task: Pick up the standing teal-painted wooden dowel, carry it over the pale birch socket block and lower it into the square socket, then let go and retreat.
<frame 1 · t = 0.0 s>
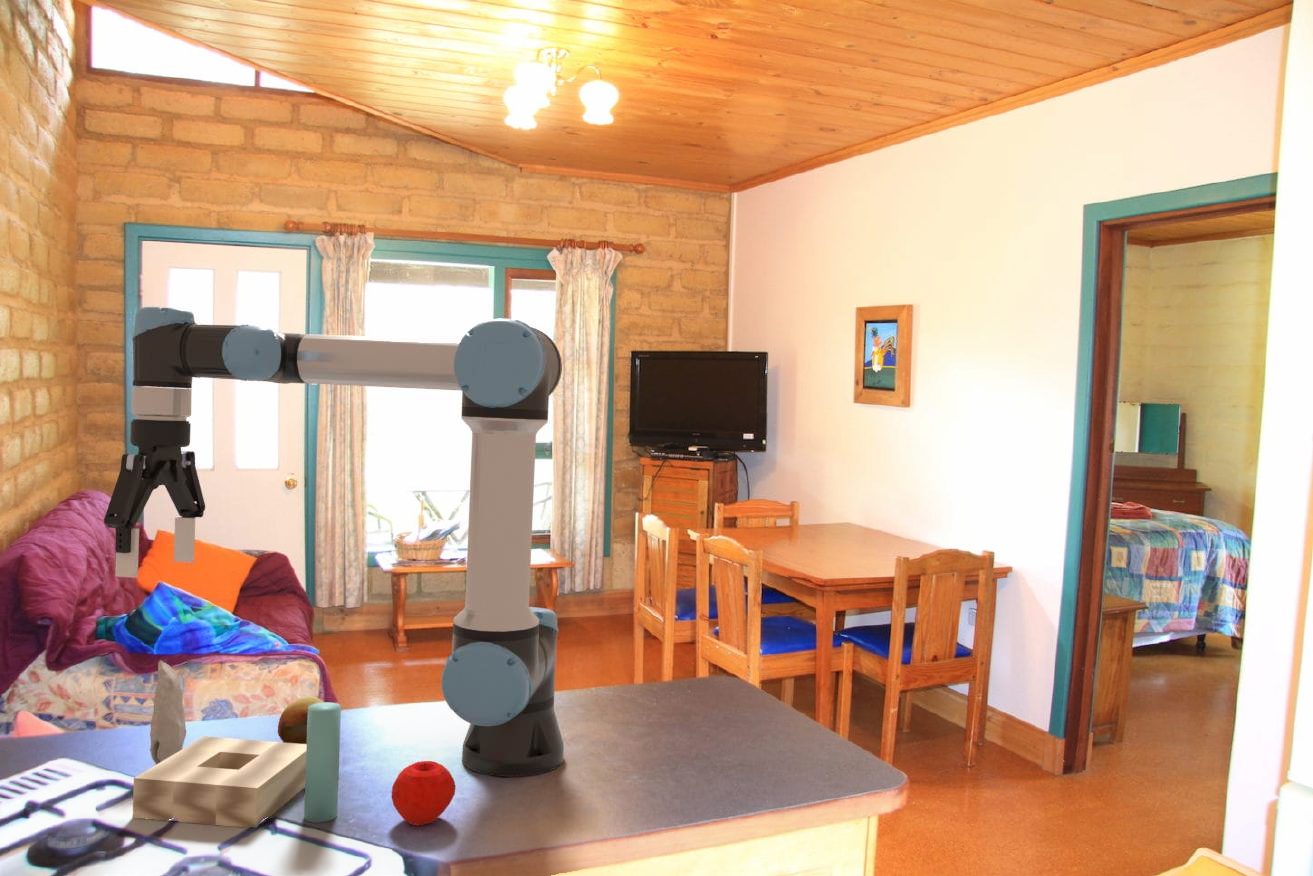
hand: (156, 569, 139), 28 cm above the kitchen counter, fingers open, 13 cm apart
socket block: (227, 798, 130), on the kitchen counter
peg: (320, 816, 126), on the kitchen counter
fruit: (306, 752, 149), on the kitchen counter
apple: (422, 822, 126), on the kitchen counter
stone tool: (166, 767, 140), on the kitchen counter
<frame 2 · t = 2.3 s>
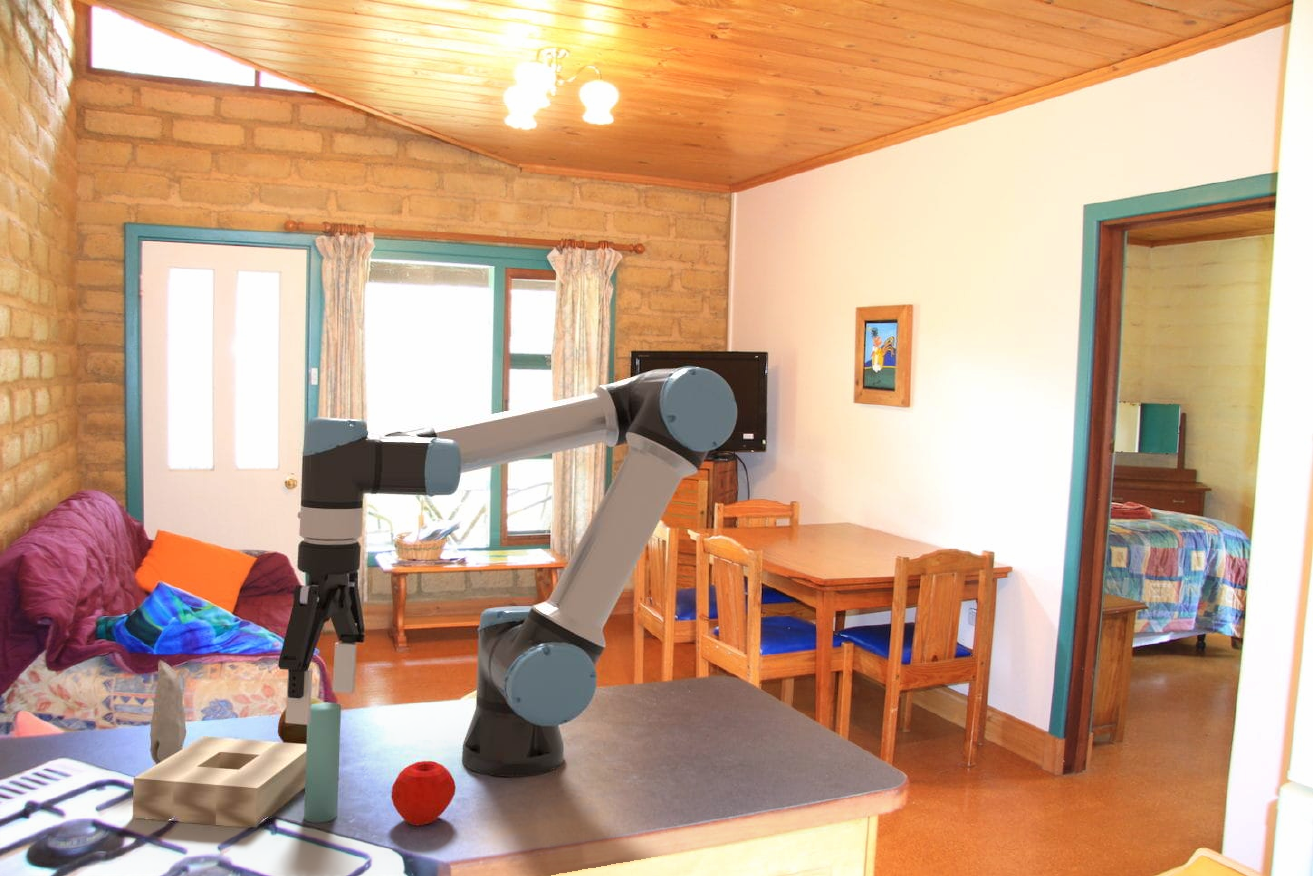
hand: (321, 707, 125), 14 cm above the kitchen counter, fingers open, 13 cm apart
nothing on the kitchen counter moved.
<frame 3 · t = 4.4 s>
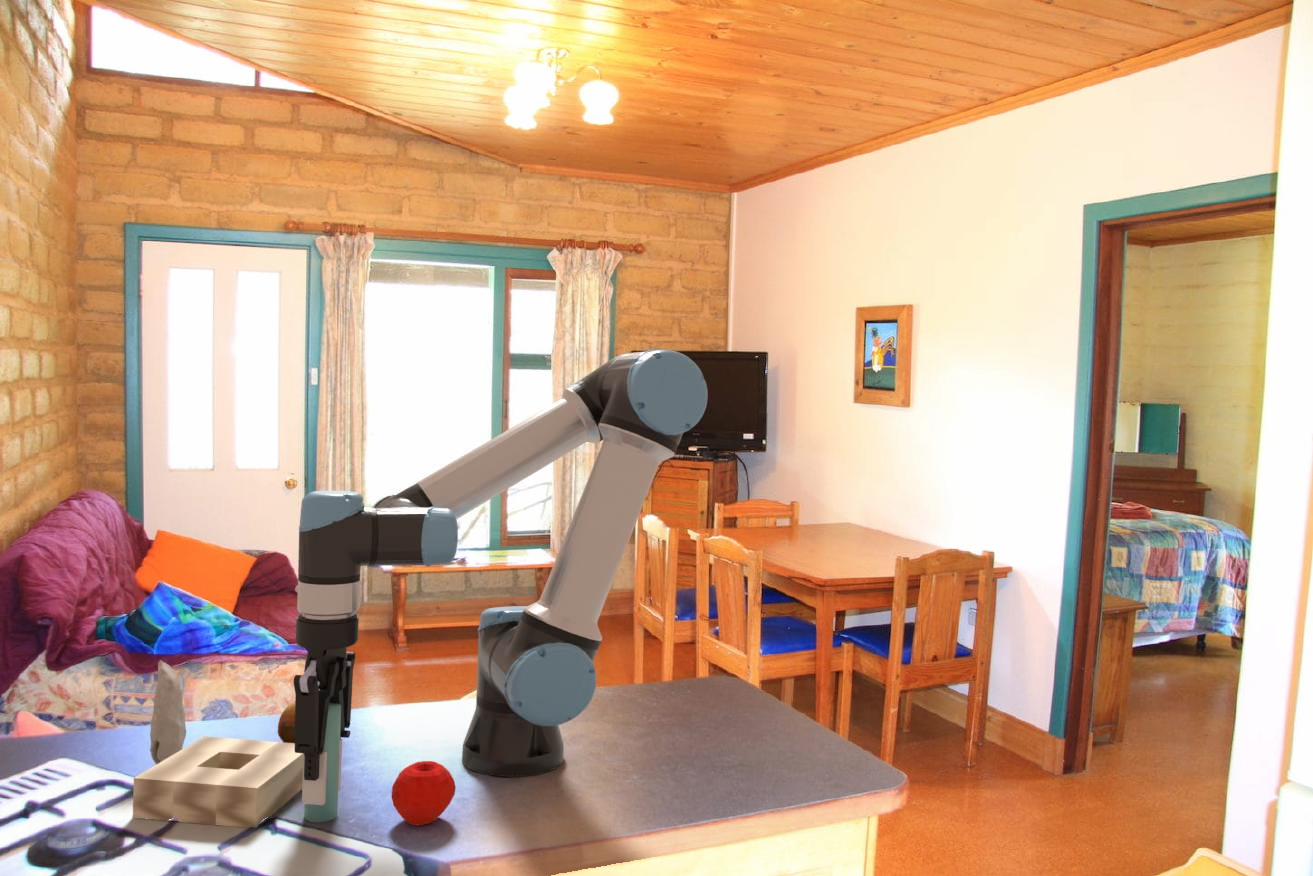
hand: (321, 795, 126), 3 cm above the kitchen counter, fingers closed on peg, 4 cm apart
peg: (320, 816, 126), on the kitchen counter, touching gripper
everything else where it was.
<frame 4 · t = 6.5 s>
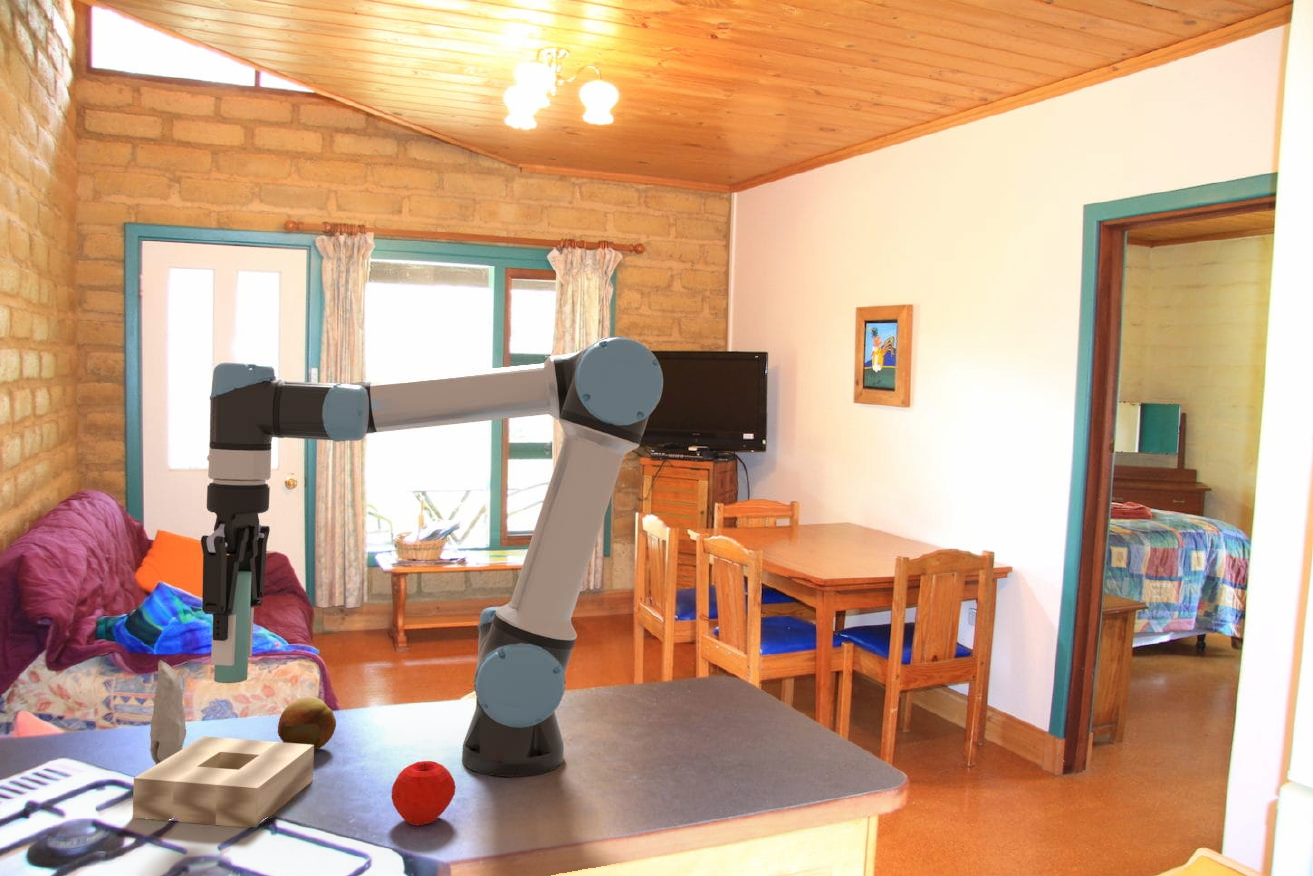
hand: (231, 659, 129), 18 cm above the kitchen counter, fingers closed on peg, 4 cm apart
peg: (230, 679, 129), point 16 cm above the kitchen counter, touching gripper
everything else where it was.
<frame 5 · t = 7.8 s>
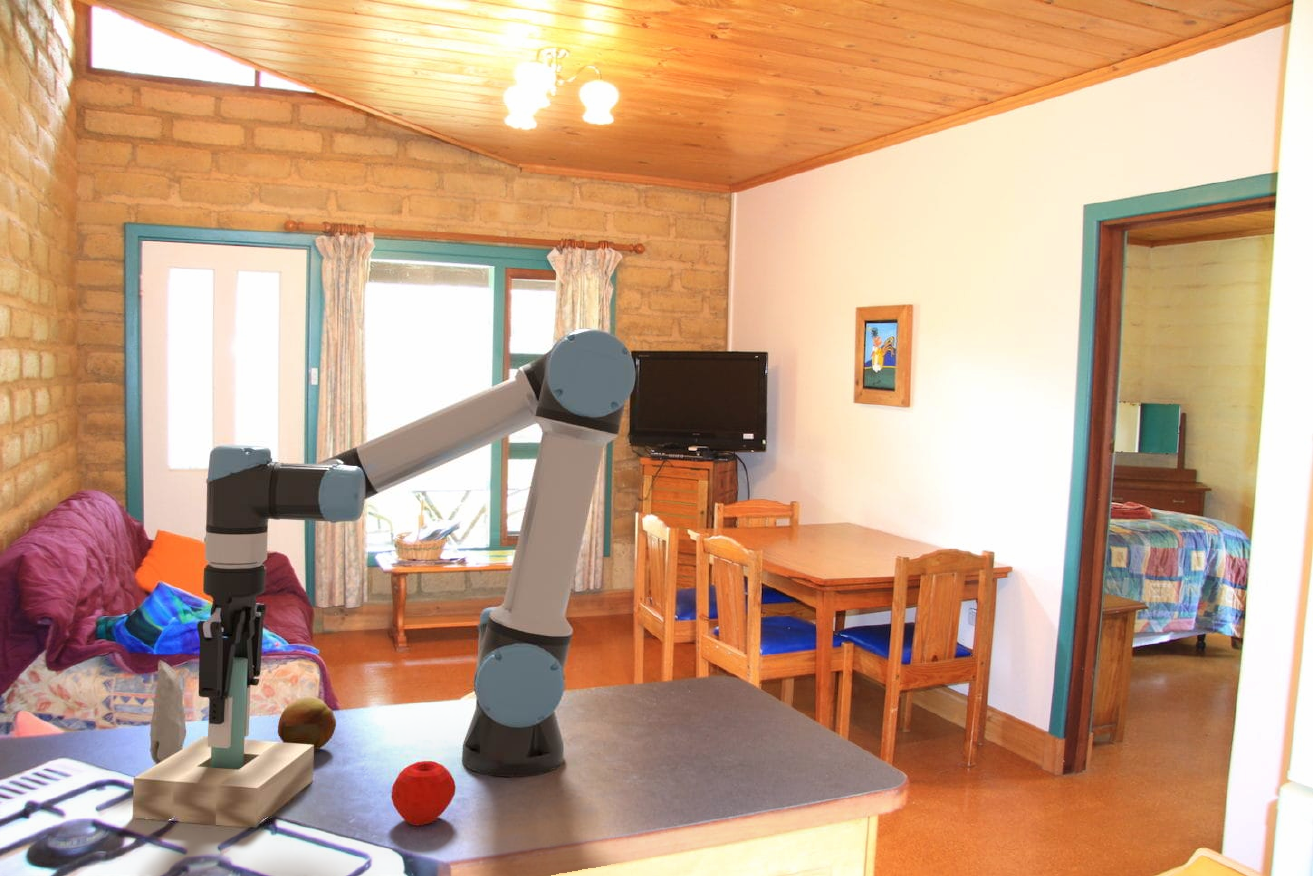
hand: (228, 740, 130), 8 cm above the kitchen counter, fingers closed on peg, 4 cm apart
peg: (227, 766, 130), point 4 cm above the kitchen counter, touching gripper
everything else where it was.
when the fingers open (6 cm above the kitchen counter, at t = 8.7 s): peg drops 3 cm, resting in socket block.
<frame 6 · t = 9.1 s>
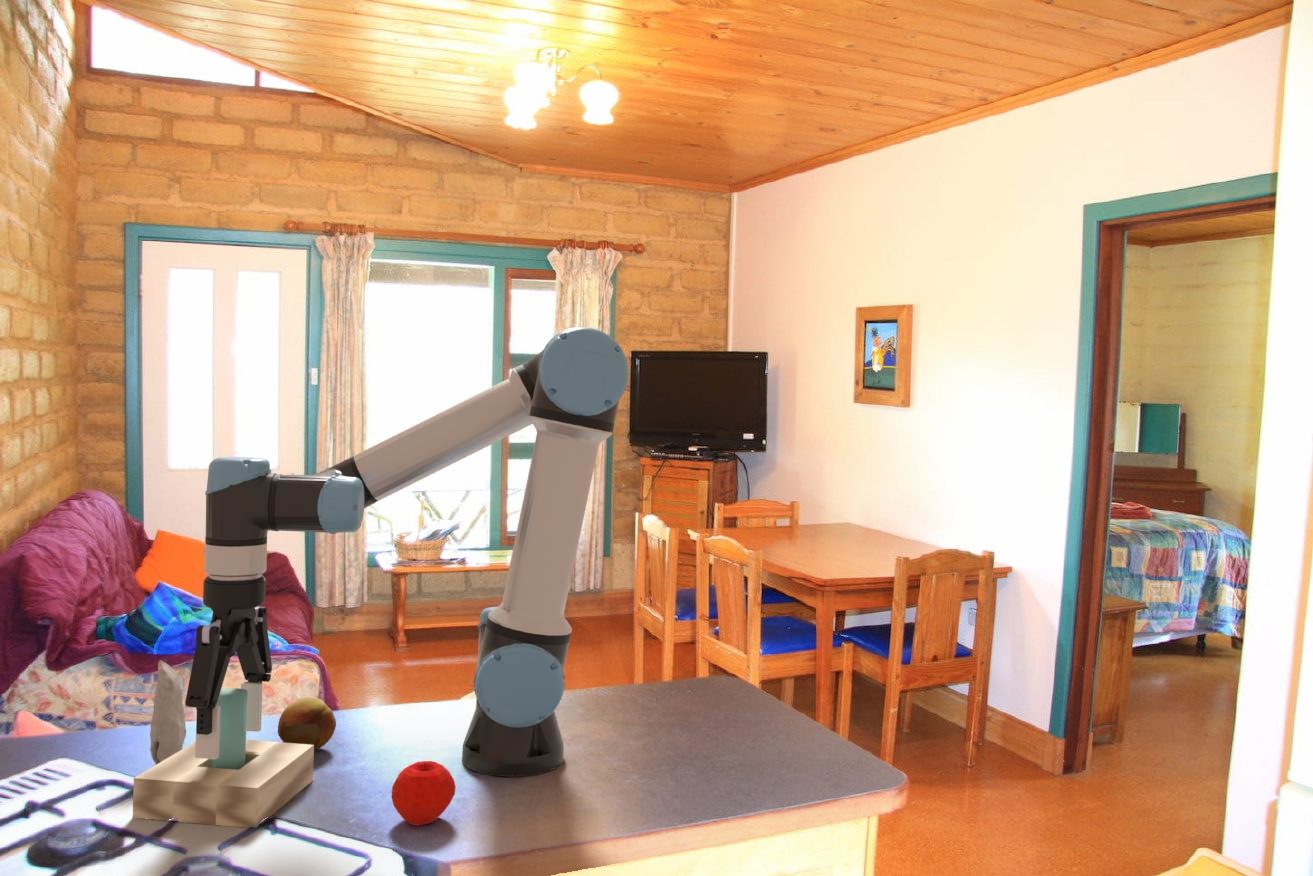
hand: (229, 743, 130), 7 cm above the kitchen counter, fingers open, 10 cm apart
peg: (227, 798, 130), resting in socket block
everything else where it was.
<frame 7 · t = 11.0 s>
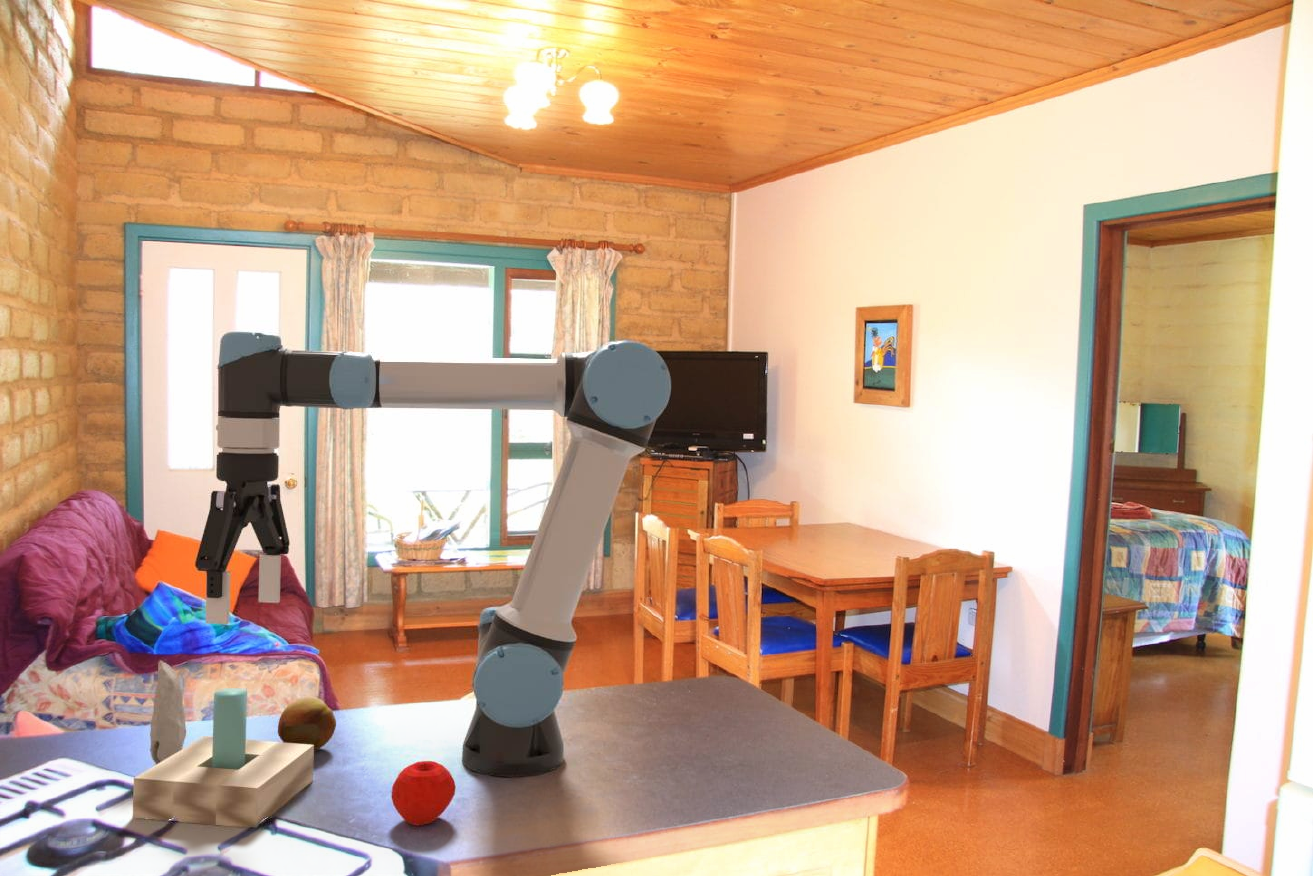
hand: (244, 612, 130), 25 cm above the kitchen counter, fingers open, 13 cm apart
nothing on the kitchen counter moved.
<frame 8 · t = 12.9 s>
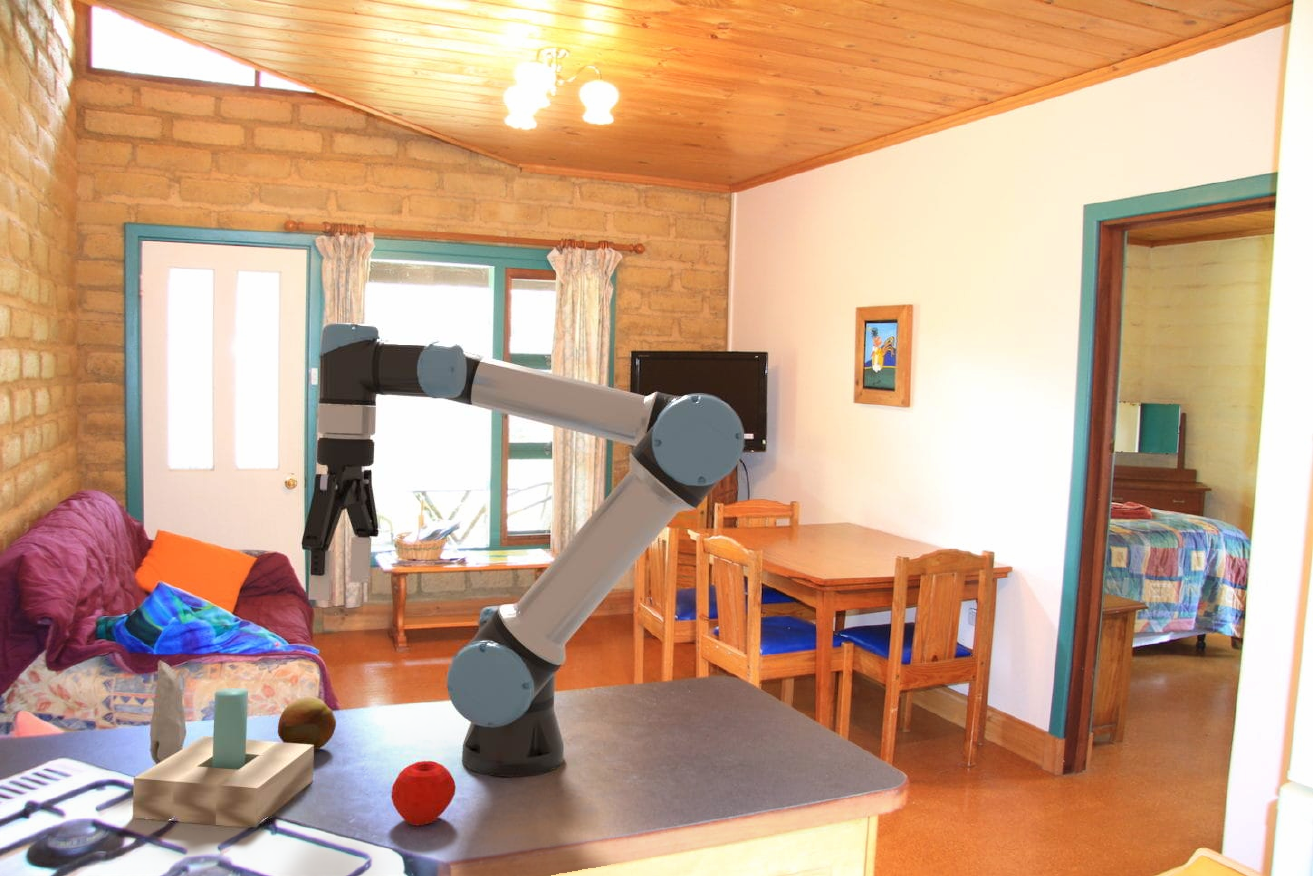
hand: (340, 590, 136), 27 cm above the kitchen counter, fingers open, 13 cm apart
nothing on the kitchen counter moved.
at the end: peg 0.0 cm off-centre on the socket block, point 0.0 cm above the socket block's base; peg tilted 0°; the gripper is holding nothing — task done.
